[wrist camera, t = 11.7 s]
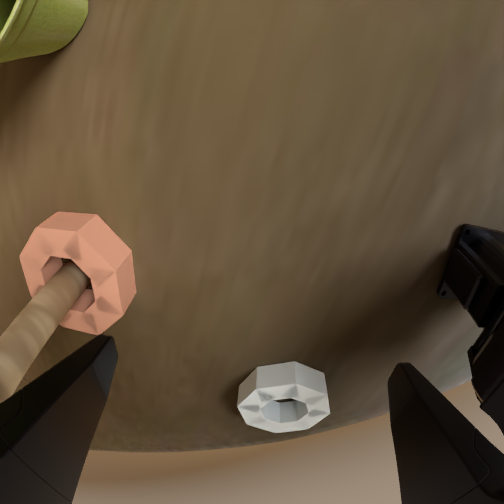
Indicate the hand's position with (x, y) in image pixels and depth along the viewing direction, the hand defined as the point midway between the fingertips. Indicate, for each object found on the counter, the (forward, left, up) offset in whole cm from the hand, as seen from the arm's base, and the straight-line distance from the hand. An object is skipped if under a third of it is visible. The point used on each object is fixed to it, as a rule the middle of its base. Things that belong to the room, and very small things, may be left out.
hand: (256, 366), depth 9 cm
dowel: (+14, +6, -13) cm, 20 cm away
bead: (-4, +18, -13) cm, 23 cm away
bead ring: (+14, +6, -13) cm, 20 cm away
